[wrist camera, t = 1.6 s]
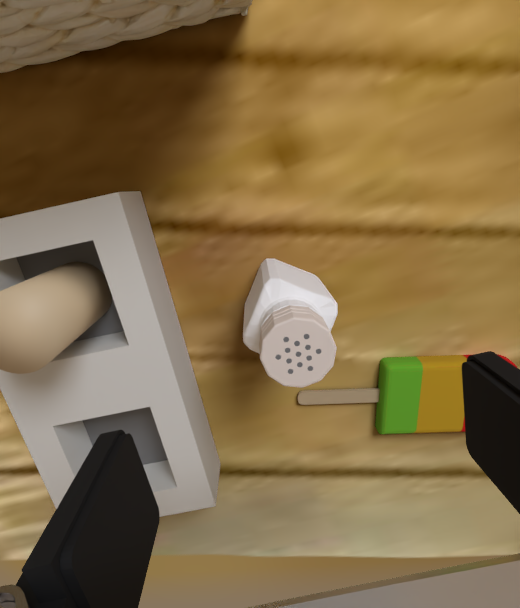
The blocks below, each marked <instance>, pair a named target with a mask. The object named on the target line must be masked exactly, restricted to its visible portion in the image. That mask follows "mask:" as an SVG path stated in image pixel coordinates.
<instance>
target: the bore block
mask: <svg viewBox="0 0 520 608" xmlns="http://www.w3.org/2000/svg"><path fill="white" fill-rule="evenodd" d="M0 389H1V392H2V394H3V396H4V398H5V400H6V402H7V404H8V407H9V409H10V411H11V413H12V415H13V417H14V419H15V422H16V424H17V426H18V428H19V430H20V432H21V434H22V437H23V439H24V441H25V443H26V445H27V447H28V449H29V452H30V454H31V456H32V458H33V460H34V462H35V464H36V467H37V469H38V471H39V473H40V475H41V477H42V479H43V482H44V484H45V486H46V488H47V490H48V492H49V494H50V497H51V499H52V501H53V503H54V505H55V507H56V509H57V508H58V506H59V504H60V502H61V501H62V499H63V497H64V495H65V494H66V492H67V490H68V488H69V487H70V485H71V483H72V482H73V480H74V478H75V476H76V475H77V473H78V471H79V469H80V468H81V466H82V464H83V462H84V461H85V459H86V457H87V455H88V454H89V452H90V450H91V449H92V447H93V445H94V443H95V442H96V440H97V438H98V436H99V435H100V434H102V433H107V432H111V431H116V430H123V431H124V432H125V434H127V433H130V434H131V435H132V437H133V440H134V443H135V445H136V448H137V451H138V453H139V456H140V459H141V461H142V464H143V467H144V470H145V472H146V475H147V478H148V480H149V483H150V486H151V489H152V491H153V494H154V497H155V499H156V502H157V505H158V508H159V515H160V517H162V516H167V515H172V514H178V513H183V512H188V511H193V510H199V509H204V508H209V507H215V506H216V499H217V490H218V481H219V472H220V460H219V457H218V454H217V450H216V447H215V443H214V440H213V436H212V433H211V430H210V426H209V423H208V419H207V416H206V413H205V409H204V406H203V402H202V399H201V396H200V392H199V389H198V385H197V382H196V379H195V375H194V372H193V368H192V365H191V362H190V358H189V355H188V351H187V348H186V344H185V341H184V338H183V334H182V331H181V327H180V324H179V321H178V317H177V314H176V310H175V307H174V304H173V300H172V297H171V293H170V290H169V287H168V283H167V280H166V276H165V273H164V270H163V266H162V263H161V259H160V256H159V252H158V249H157V246H156V242H155V239H154V235H153V232H152V229H151V225H150V222H149V218H148V215H147V212H146V208H145V205H144V201H143V198H142V195H141V191H129V192H116V193H111V194H107V195H103V196H98V197H94V198H89V199H85V200H80V201H76V202H72V203H67V204H63V205H58V206H54V207H50V208H45V209H41V210H36V211H32V212H27V213H23V214H19V215H14V216H10V217H5V218H1V219H0Z"/></svg>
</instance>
